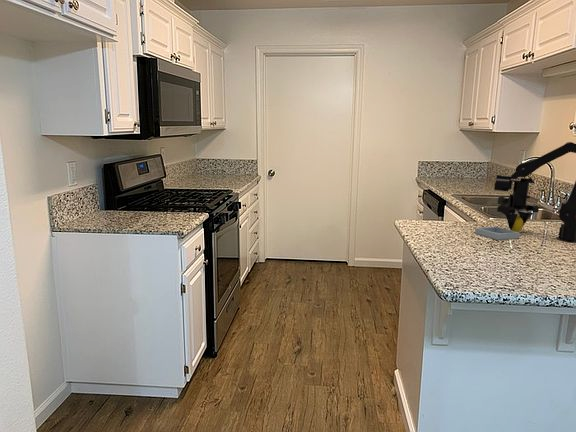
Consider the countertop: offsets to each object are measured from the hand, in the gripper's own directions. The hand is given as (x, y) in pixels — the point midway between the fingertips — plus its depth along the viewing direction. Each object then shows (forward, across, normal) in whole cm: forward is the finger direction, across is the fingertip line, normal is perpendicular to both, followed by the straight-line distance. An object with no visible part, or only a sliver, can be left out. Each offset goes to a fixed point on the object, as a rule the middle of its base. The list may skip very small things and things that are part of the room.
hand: (515, 228), depth 194 cm
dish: (+2, +13, +2) cm, 13 cm away
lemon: (+2, 0, 0) cm, 2 cm away
